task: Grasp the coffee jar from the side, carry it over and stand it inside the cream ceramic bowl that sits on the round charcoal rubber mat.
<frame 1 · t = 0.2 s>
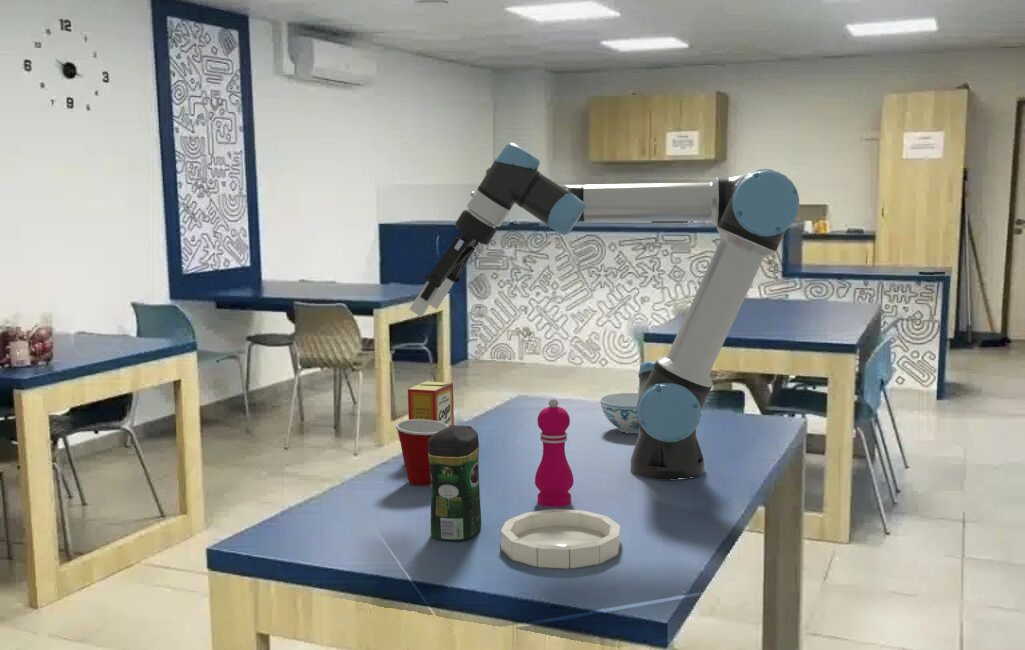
hand: (423, 309, 193), 35 cm above the table, tool tilted 35°, fingers open, 13 cm apart
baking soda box: (432, 455, 219), on the table
coffee jar: (455, 535, 168), on the table
pepper mill: (554, 504, 184), on the table
mat: (560, 548, 160), on the table
chinaware: (631, 431, 239), on the table
plastic cup: (424, 482, 198), on the table
bowl: (560, 545, 160), resting on mat
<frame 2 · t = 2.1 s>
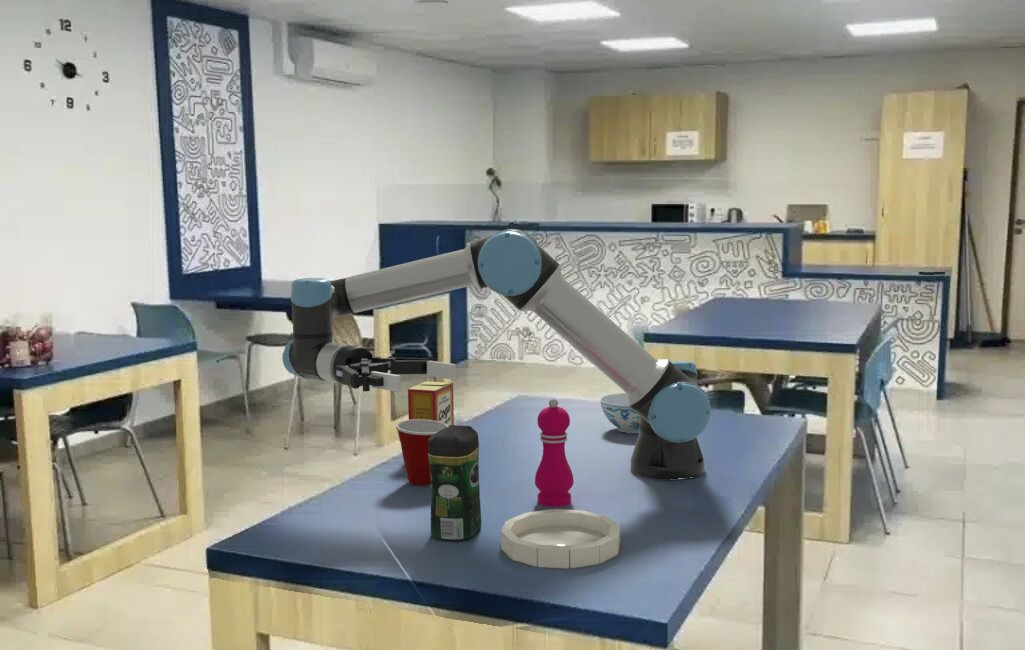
hand: (427, 377, 170), 26 cm above the table, tool horizontal, fingers open, 13 cm apart
nothing on the table moved.
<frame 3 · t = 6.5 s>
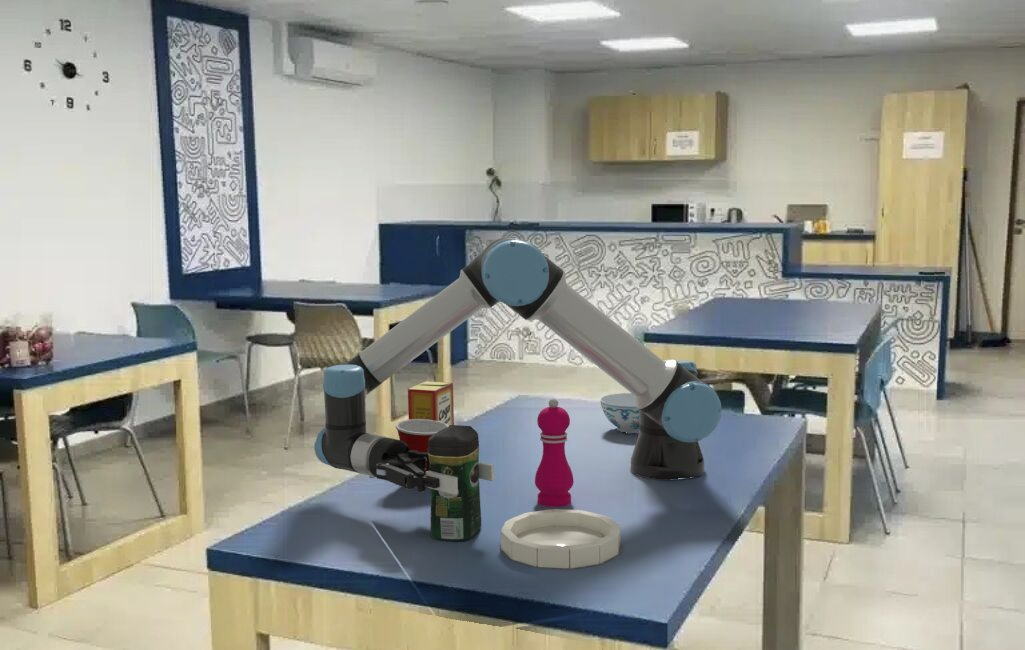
hand: (474, 479, 163), 11 cm above the table, tool horizontal, fingers closed on coffee jar, 8 cm apart
coffee jar: (455, 535, 168), on the table, touching gripper
everything else where it was.
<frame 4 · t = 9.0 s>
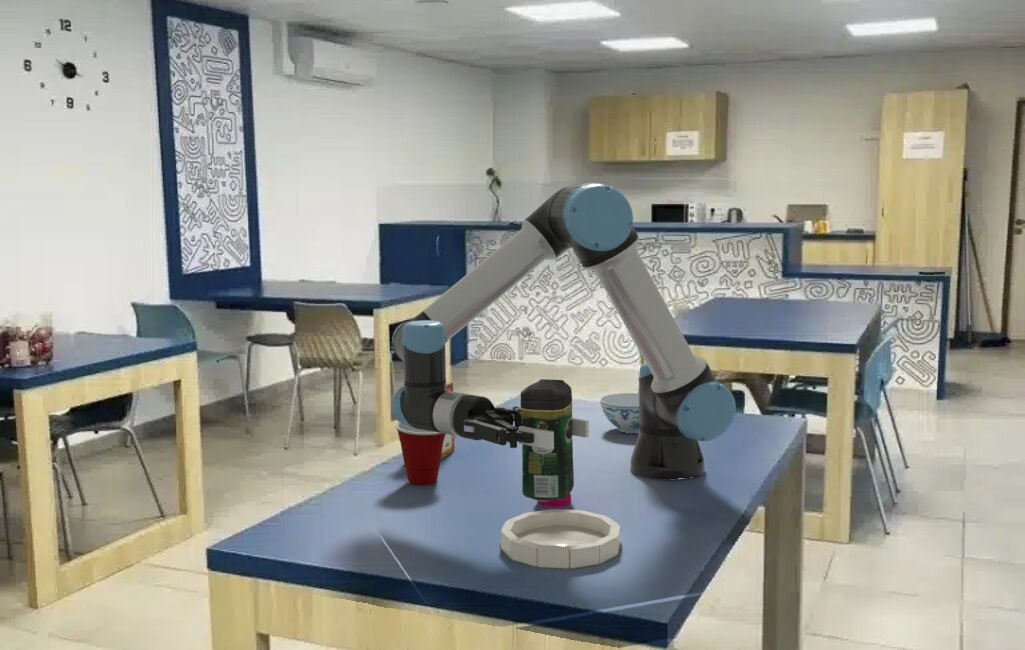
hand: (570, 434, 155), 20 cm above the table, tool horizontal, fingers closed on coffee jar, 8 cm apart
coffee jar: (547, 494, 160), point 9 cm above the table, touching gripper
everything else where it was.
when the fingers open (13 cm above the table, at t = 11.4 s): coffee jar stays where it is, resting on bowl.
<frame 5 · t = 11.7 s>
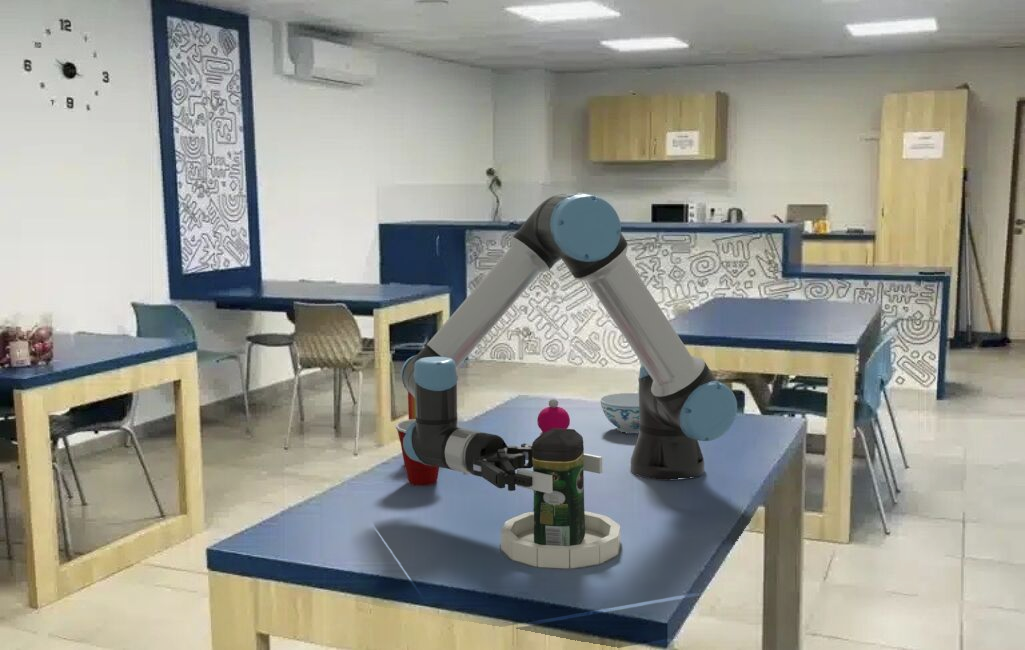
hand: (577, 474, 156), 13 cm above the table, tool horizontal, fingers open, 13 cm apart
coffee jar: (559, 544, 160), point 1 cm above the table, touching bowl
everything else where it was.
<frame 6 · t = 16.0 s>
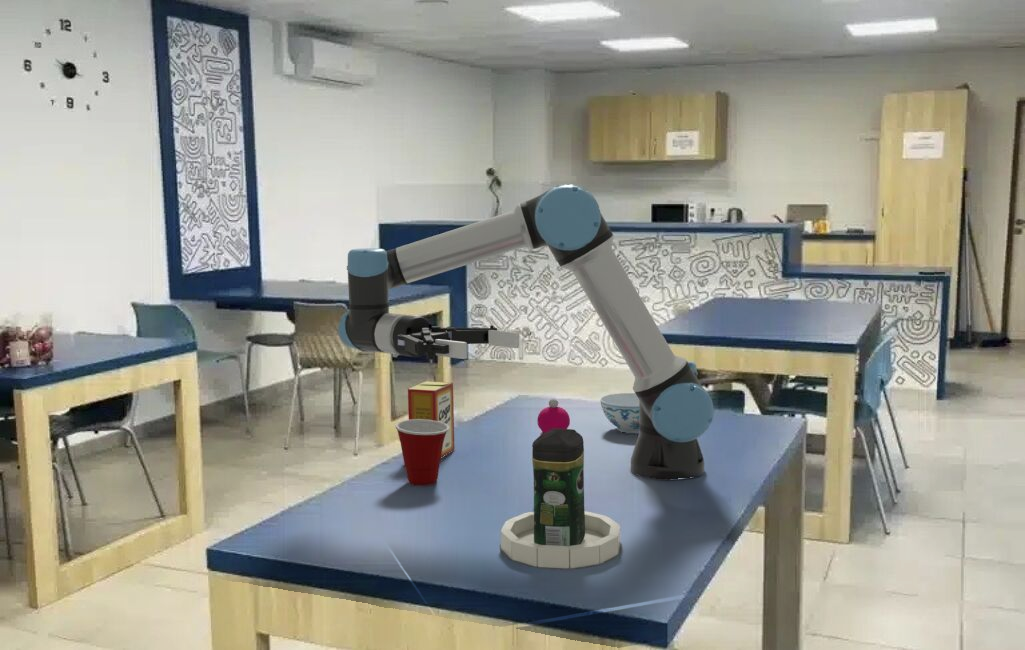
hand: (492, 345, 167), 32 cm above the table, tool horizontal, fingers open, 13 cm apart
nothing on the table moved.
at the end: coffee jar 0.4 cm from the bowl (horizontally); coffee jar tilted 0°; the gripper is holding nothing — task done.
